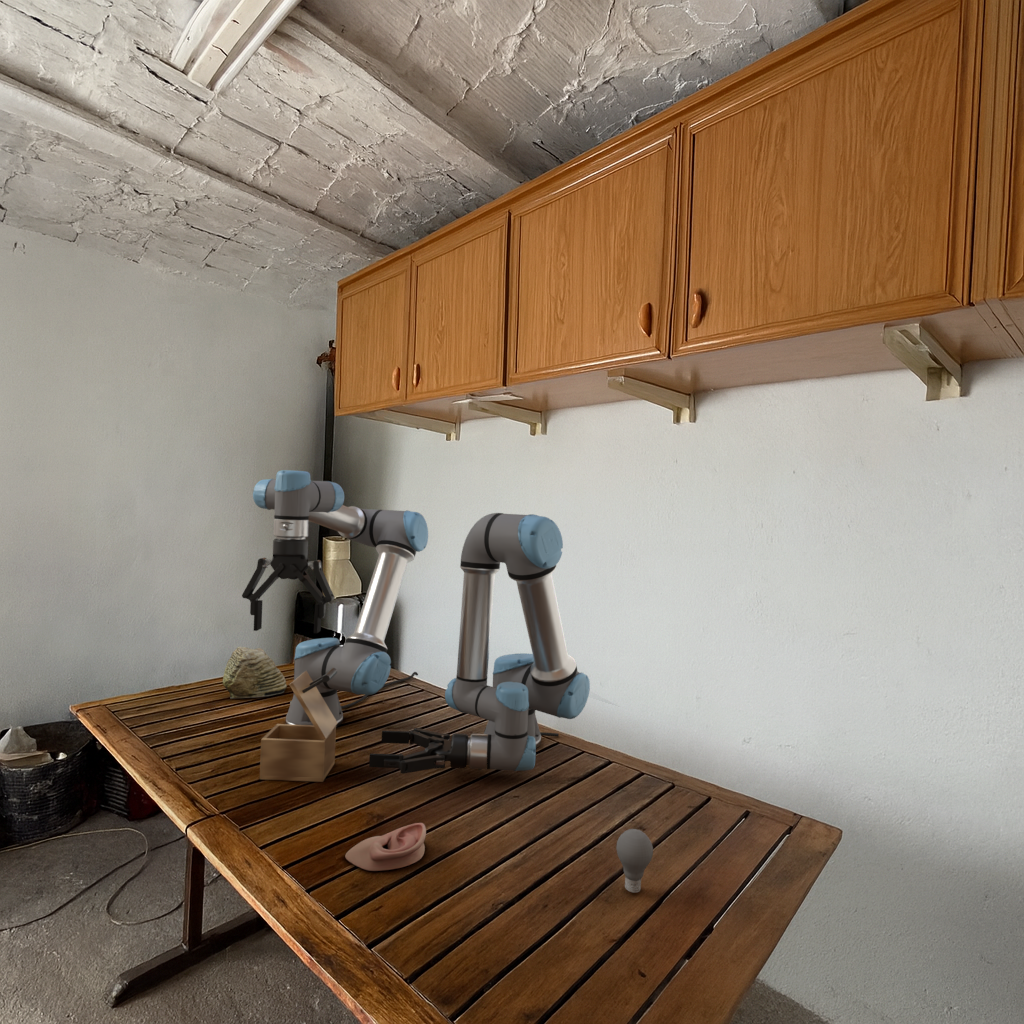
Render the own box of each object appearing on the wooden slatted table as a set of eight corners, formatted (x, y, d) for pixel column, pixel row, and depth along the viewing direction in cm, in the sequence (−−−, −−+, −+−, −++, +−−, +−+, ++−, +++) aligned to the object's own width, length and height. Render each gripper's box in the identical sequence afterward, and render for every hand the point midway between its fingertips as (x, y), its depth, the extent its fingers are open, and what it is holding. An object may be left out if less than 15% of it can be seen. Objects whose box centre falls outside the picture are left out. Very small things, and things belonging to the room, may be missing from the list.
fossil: (218, 695, 195) (220, 647, 195) (278, 685, 208) (279, 640, 207) (228, 703, 189) (230, 653, 188) (289, 692, 201) (290, 645, 201)
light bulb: (610, 879, 108) (613, 822, 108) (644, 879, 109) (647, 822, 109) (619, 902, 102) (622, 840, 102) (655, 901, 103) (658, 840, 103)
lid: (288, 684, 140) (319, 666, 140) (303, 672, 150) (331, 655, 150) (322, 740, 140) (352, 722, 140) (334, 724, 150) (362, 708, 150)
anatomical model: (337, 842, 109) (366, 811, 120) (336, 865, 109) (365, 832, 120) (410, 854, 106) (432, 821, 117) (409, 878, 106) (432, 842, 118)
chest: (259, 779, 140) (260, 739, 140) (275, 761, 150) (277, 723, 150) (322, 782, 141) (324, 741, 140) (334, 763, 150) (336, 726, 150)
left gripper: (228, 536, 140) (225, 631, 141) (341, 541, 141) (337, 636, 141) (242, 534, 148) (239, 625, 148) (349, 539, 148) (346, 629, 149)
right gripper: (464, 792, 133) (363, 789, 133) (470, 746, 158) (385, 742, 158) (465, 757, 133) (364, 753, 133) (472, 716, 158) (386, 713, 158)
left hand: (287, 631), depth 145 cm, fingers open, 13 cm apart
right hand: (375, 747), depth 146 cm, fingers open, 13 cm apart
